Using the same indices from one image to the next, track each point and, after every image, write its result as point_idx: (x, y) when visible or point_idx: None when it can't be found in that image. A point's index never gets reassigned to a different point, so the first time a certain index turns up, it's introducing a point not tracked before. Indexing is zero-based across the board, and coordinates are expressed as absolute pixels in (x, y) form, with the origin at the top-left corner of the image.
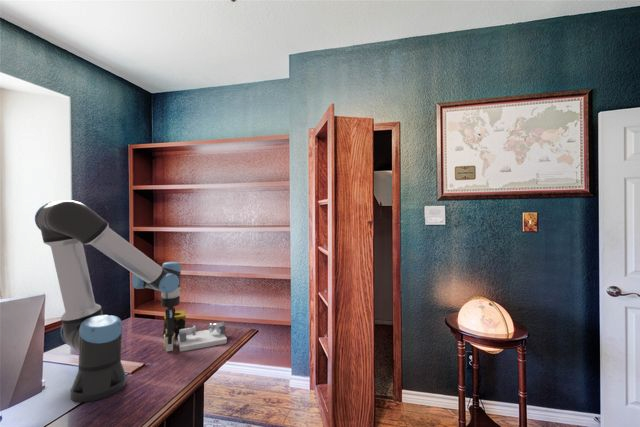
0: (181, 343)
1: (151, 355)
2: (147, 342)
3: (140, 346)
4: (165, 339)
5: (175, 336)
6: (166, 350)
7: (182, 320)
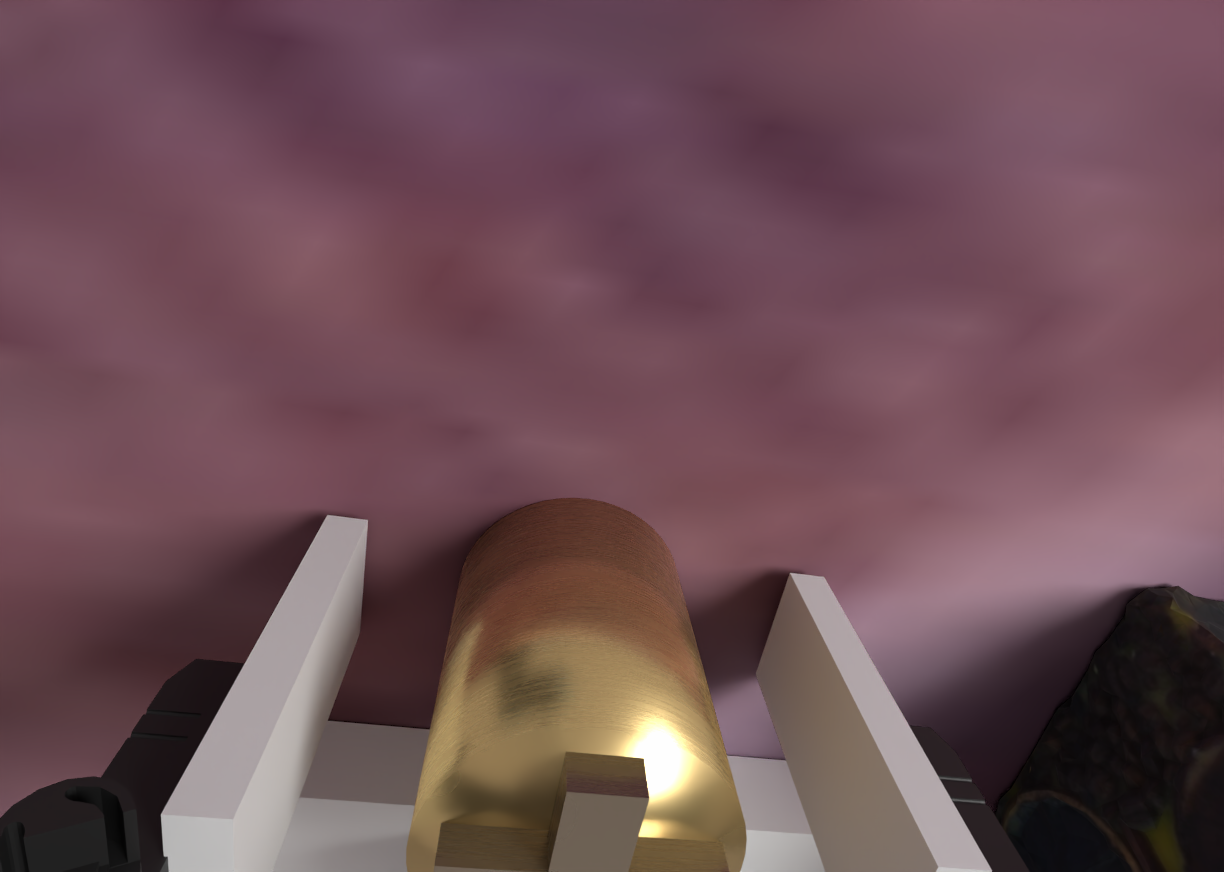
0: (375, 833)
1: (311, 212)
2: (1210, 272)
3: (1101, 73)
4: (478, 675)
5: (1031, 762)
6: (320, 536)
7: None
